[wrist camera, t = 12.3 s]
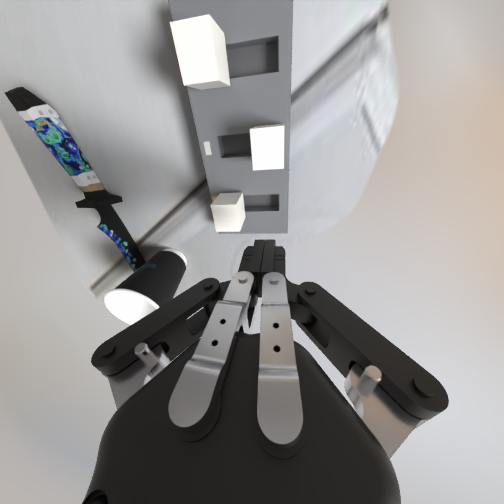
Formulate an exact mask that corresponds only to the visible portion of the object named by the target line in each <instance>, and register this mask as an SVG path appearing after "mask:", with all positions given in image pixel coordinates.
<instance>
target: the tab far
mask: <svg viewBox="0 0 504 504" xmlns="http://www.w3.org/2000/svg"><path fill="white" fill-rule="evenodd" d="M211 210H212V214H213V219H214V223H215V228H216V232H240V230H241V228H242V225H243V222H244V220H245V208H244V199H243V192H238V193H220V194H219V195H218V197H217V198H216V199H215V200H214V202H213V203H212V204H211Z"/></svg>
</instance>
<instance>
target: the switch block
mask: <svg viewBox="0 0 504 504" xmlns="http://www.w3.org/2000/svg"><path fill="white" fill-rule="evenodd" d="M168 2H169V6H170V11H171V16H172V20H173V21H178V20H183V19H188V18H193V17H198V16H203V15H207V14H209V15H210V16H211V17H212V18H213V20H214V21H215V22H216V23H217V25H218V26H219V27H220V29H221V30H222V31H223V32H224V36H225V44H226V53H227V61H228V70H229V79H230V86H226V87H219V88H211V89H204V90H200V89H196V88H192V87H188V86H187V90H188V94H189V99H190V104H191V108H192V113H193V117H194V122H195V127H196V131H197V136H198V141H199V145H200V150H201V154H202V159H203V164H204V168H205V173H206V178H207V182H208V187H209V191H210V196H211V201H212V203H213V202H214V200H215V199H216V198H217V197H218V195H219V194H220V193H238V192H243V199H244V208H245V220H244V222H243V225H242V228H241V230H240V232H218V233H287V232H288V190H289V148H290V106H291V64H292V23H293V0H168ZM275 124H284V169H269V170H253V164H252V151H251V138H250V129H251V128H253V127H255V126H264V125H275Z"/></svg>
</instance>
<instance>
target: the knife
mask: <svg viewBox="0 0 504 504" xmlns="http://www.w3.org/2000/svg"><path fill="white" fill-rule="evenodd" d="M5 94H6V96H7V97H8V99H9V100H10V102H11V103H12V104H13V106H14V107H15V109H16V110H17V112H18V113H19V114H20V116H21V117H22V118H23V119H24V120H25V121H26V123H27V124H28V125H29V126H30V127H31V129H32V130H33V131H34V132H35V133H36V135H37V136H38V137H39V138H40V140H41V141H42V142H43V143H44V144H45V146H46V147H47V148H48V149H49V151H50V152H51V153H52V154H53V155H54V157H55V158H56V159H57V160H58V162H59V163H60V164H61V165H62V166H63V168H64V169H65V170H66V171H67V172H68V174H69V175H70V176H71V177H72V179H73V180H74V181H75V182H76V184H77V185H78V186H79V187H80V189H81V190H82V191H83V192H84V196H85V199H84V200H81V201H78V202H75V203H76V205H77V208H95V209H96V210H97V211H98V212H99V214H100V217H101V222H100V224H99V225H98V226H97V227H98V228H99V229H100V230H102V231H103V232H104V233H105V234H106V235H108V236H109V237H110V238H111V239H112V240H113V241H114V242H115V244H116V245H117V246H118V248H119V249H120V251H121V252H122V254H123V255H124V257H125V258H126V260H127V261H128V263H129V265H130V266H131V268H132V269H133V271H134V272H135V271H137V270H138V269H139V268H140V267H141V266H143V265H144V264H145V263H146V262H145V260H144V258H143V256H142V254H141V253H140V251H139V249H138V247H137V245H136V244H135V242H134V240H133V239H132V237H131V236H130V234H129V232H128V231H127V229H126V227H125V226H124V224H123V222H122V221H121V219H120V218H119V216H118V215H117V213H116V212H115V210H114V209H113V207H112V206H111V204H114V203H118V202H122V197H115V196H110V195H109V194H108V192H107V191H106V190H105V188H104V187H103V185H102V183H101V182H100V180H99V179H98V177H97V176H96V174H95V172H94V171H93V169H92V168H91V166H90V165H89V163H88V161H87V160H86V158H85V157H84V155H83V154H82V152H81V150H80V149H79V147H78V146H77V144H76V143H75V141H74V139H73V138H72V136H71V135H70V133H69V132H68V130H67V128H66V127H65V125H64V124H63V122H62V121H61V119H60V117H59V116H58V114H57V113H56V111H55V110H53V109H52V108H51V107H50V106H49V105H48V104H46V103H45V102H44V101H42V100H41V99H39V98H38V97H37V96H35V95H34V94H32V93H31V92H29V91H28V90H27V89H25V88H23V87H18V88H15V89H12V90H10V91H8V92H6V93H5Z"/></svg>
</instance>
